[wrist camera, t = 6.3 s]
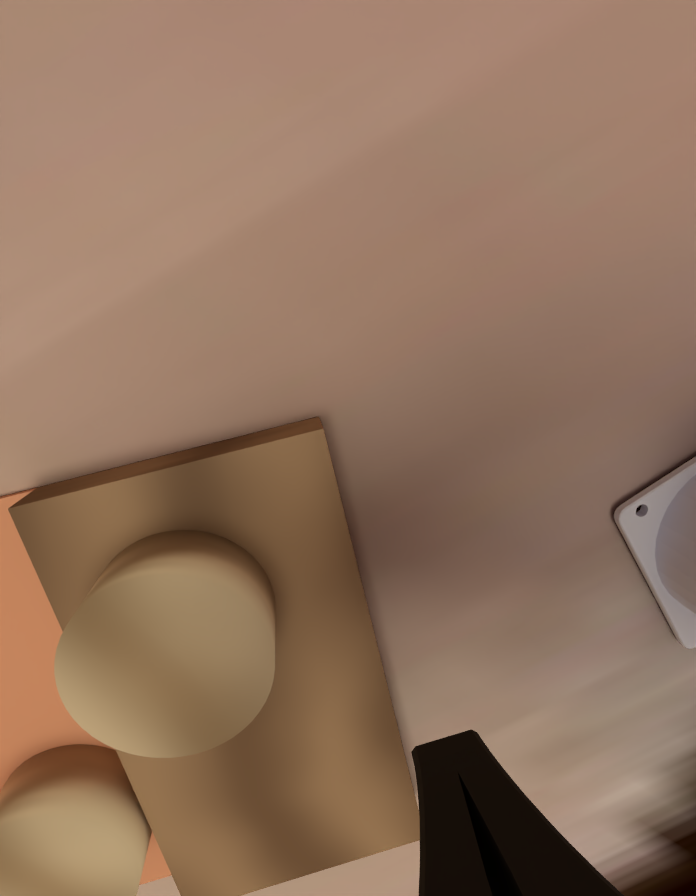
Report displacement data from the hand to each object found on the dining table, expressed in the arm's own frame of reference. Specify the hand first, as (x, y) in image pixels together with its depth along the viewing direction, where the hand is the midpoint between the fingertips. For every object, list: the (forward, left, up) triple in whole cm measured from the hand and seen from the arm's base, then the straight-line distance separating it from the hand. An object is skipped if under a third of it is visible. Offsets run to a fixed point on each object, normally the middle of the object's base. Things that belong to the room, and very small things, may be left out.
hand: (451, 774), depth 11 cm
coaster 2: (+6, -3, -6) cm, 9 cm away
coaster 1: (+15, +2, -8) cm, 17 cm away
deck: (+6, +1, -10) cm, 12 cm away
